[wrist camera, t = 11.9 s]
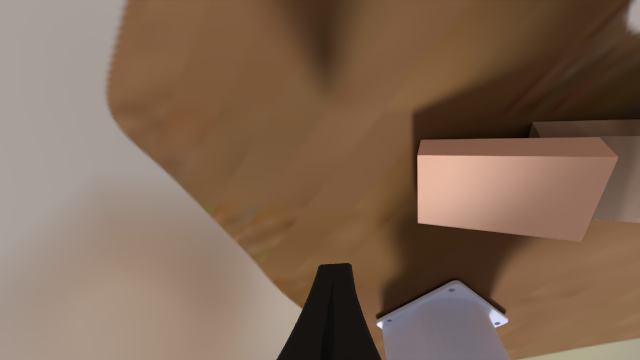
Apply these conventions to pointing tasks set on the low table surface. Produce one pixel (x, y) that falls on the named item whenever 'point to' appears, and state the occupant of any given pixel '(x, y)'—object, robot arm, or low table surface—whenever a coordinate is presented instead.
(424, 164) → the terracotta domino
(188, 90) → the low table surface
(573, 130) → the walnut domino
